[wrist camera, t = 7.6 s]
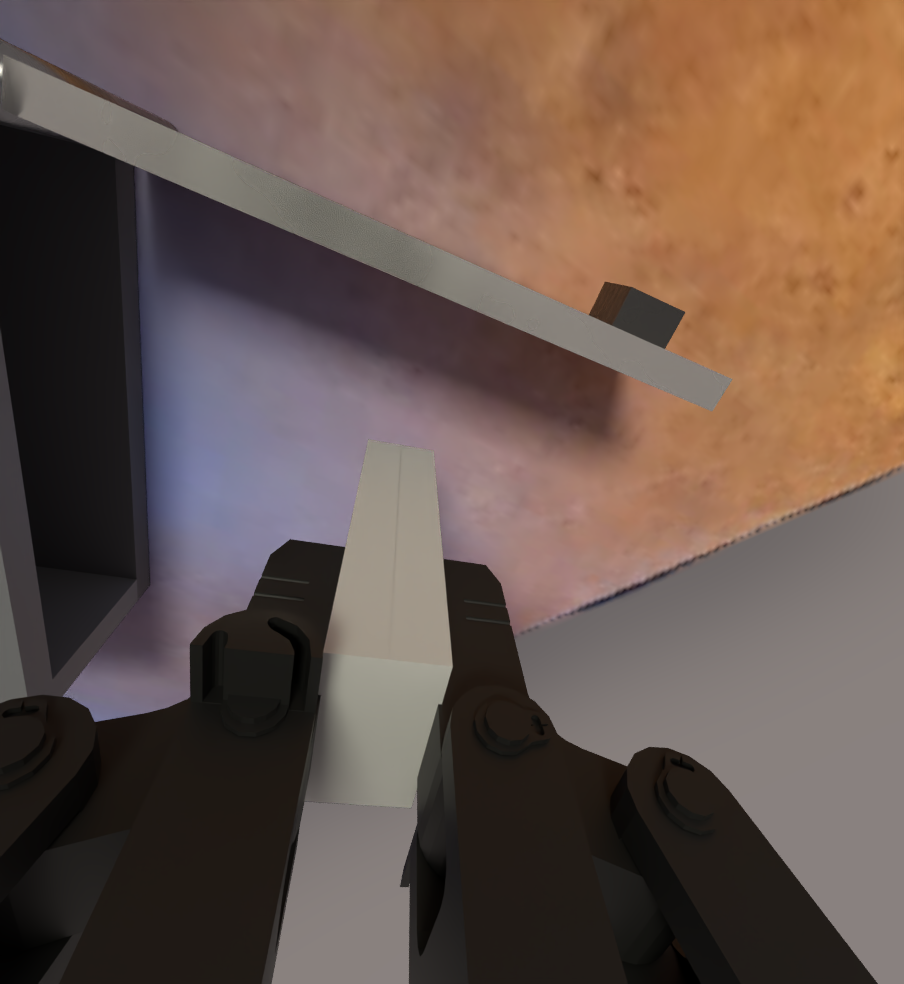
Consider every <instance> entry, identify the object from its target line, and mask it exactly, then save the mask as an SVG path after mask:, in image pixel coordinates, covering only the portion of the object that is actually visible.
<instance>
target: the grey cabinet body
mask: <svg viewBox="0 0 904 984" xmlns="http://www.w3.org/2000/svg"><path fill="white" fill-rule="evenodd" d="M149 586H150V577H149V551H148V526H147V500H146V474H145V449H144V423H143V398H142V372H141V347H140V321H139V296H138V270H137V244H136V219H135V193H134V168H133V165H131V164H129V163H126V162H124V161H122V160H119V159H117V158H115V157H112V156H110V155H108V154H105V153H103V152H101V151H98V150H96V149H93V148H90V147H87V146H83V145H80V144H77V143H73V142H70V141H66V140H63V139H60V138H56V137H53V136H49V135H46V134H43V133H39V132H36V131H33V130H29V129H26V128H22V127H19V126H16V125H12V124H9V123H5V122H2V121H0V703H2V702H5V701H7V700H10V699H16V698H23V697H30V696H36V695H51V696H59V697H62V696H63V695H64V694H65V692H66V691H67V690H68V688H69V687H70V686H71V685H72V683H73V682H74V681H75V680H76V678H77V677H78V676H79V675H80V673H81V672H82V671H83V669H84V668H85V667H86V666H87V664H88V663H89V662H90V661H91V659H92V658H93V657H94V655H95V654H96V653H97V652H98V650H99V649H100V648H101V647H102V645H103V644H104V643H105V641H106V640H107V639H108V638H109V636H110V635H111V634H112V633H113V631H114V630H115V629H116V628H117V626H118V625H119V624H120V622H121V621H122V620H123V619H124V617H125V616H126V615H127V614H128V612H129V611H130V610H131V608H132V607H133V606H134V605H135V603H136V602H137V601H138V600H139V598H140V597H141V596H142V595H143V593H144V592H145V591H146V589H147V588H148V587H149Z"/></svg>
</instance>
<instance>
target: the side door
mask: <svg viewBox="0 0 904 984" xmlns="http://www.w3.org/2000/svg"><path fill="white" fill-rule="evenodd" d="M0 121H2V122H5V123H9V124H12V125H16V126H19V127H22V128H26V129H29V130H33V131H36V132H39V133H43V134H46V135H49V136H53V137H56V138H60V139H63V140H66V141H70V142H73V143H77V144H80V145H83V146H87V147H90V148H93V149H96V150H98V151H101V152H103V153H105V154H108V155H110V156H112V157H115V158H117V159H119V160H122V161H124V162H126V163H129V164H131V165H134V166H136V167H138V168H141V169H143V170H145V171H148V172H150V173H152V174H155V175H157V176H159V177H162V178H164V179H166V180H169V181H171V182H174V183H176V184H178V185H181V186H183V187H185V188H188V189H190V190H192V191H195V192H197V193H199V194H202V195H204V196H206V197H209V198H211V199H214V200H216V201H218V202H221V203H223V204H225V205H228V206H230V207H232V208H235V209H237V210H239V211H242V212H244V213H246V214H249V215H251V216H254V217H256V218H258V219H261V220H263V221H265V222H268V223H270V224H272V225H275V226H277V227H279V228H282V229H284V230H286V231H289V232H291V233H294V234H296V235H298V236H301V237H303V238H305V239H308V240H310V241H312V242H315V243H317V244H319V245H322V246H324V247H326V248H329V249H331V250H334V251H336V252H338V253H341V254H343V255H345V256H348V257H350V258H352V259H355V260H357V261H359V262H362V263H364V264H366V265H369V266H371V267H374V268H376V269H378V270H381V271H383V272H385V273H388V274H390V275H392V276H395V277H397V278H399V279H402V280H404V281H406V282H409V283H411V284H414V285H416V286H418V287H421V288H423V289H425V290H428V291H430V292H432V293H435V294H437V295H439V296H442V297H444V298H446V299H449V300H451V301H454V302H456V303H458V304H461V305H463V306H465V307H468V308H470V309H472V310H475V311H477V312H479V313H482V314H484V315H486V316H489V317H491V318H494V319H496V320H498V321H501V322H503V323H505V324H508V325H510V326H512V327H515V328H517V329H519V330H522V331H524V332H527V333H529V334H531V335H534V336H536V337H538V338H541V339H543V340H545V341H548V342H550V343H552V344H555V345H557V346H559V347H562V348H564V349H567V350H569V351H571V352H574V353H576V354H578V355H581V356H583V357H585V358H588V359H590V360H592V361H595V362H597V363H599V364H602V365H604V366H607V367H609V368H611V369H614V370H616V371H618V372H621V373H623V374H625V375H628V376H630V377H632V378H635V379H637V380H639V381H642V382H644V383H647V384H649V385H651V386H654V387H656V388H658V389H661V390H663V391H665V392H668V393H670V394H672V395H675V396H677V397H679V398H682V399H684V400H687V401H689V402H691V403H694V404H696V405H698V406H701V407H703V408H705V409H708V410H710V411H713V409H714V408H715V406H716V405H717V403H718V401H719V400H720V398H721V397H722V395H723V394H724V392H725V390H726V389H727V387H728V386H729V384H730V382H731V381H732V379H731V378H728V377H726V376H724V375H722V374H719V373H717V372H715V371H713V370H710V369H708V368H706V367H704V366H701V365H699V364H697V363H695V362H692V361H690V360H688V359H686V358H683V357H681V356H679V355H677V354H674V353H672V352H670V351H668V350H666V349H665V348H666V346H667V344H668V342H669V341H670V339H671V337H672V335H673V333H674V332H675V330H676V328H677V326H678V325H679V323H680V321H681V319H682V317H683V316H684V314H685V312H684V311H682V310H680V309H677V308H675V307H673V306H671V305H669V304H667V303H665V302H662V301H660V300H658V299H656V298H654V297H652V296H650V295H647V294H645V293H643V292H641V291H639V290H637V289H635V288H633V287H629V286H624V285H619V284H614V283H609V282H605V283H604V285H603V287H602V289H601V291H600V293H599V295H598V297H597V300H596V302H595V304H594V306H593V308H592V310H591V312H590V314H589V315H587V314H585V313H582V312H580V311H578V310H576V309H573V308H571V307H569V306H567V305H565V304H562V303H560V302H558V301H556V300H553V299H551V298H549V297H547V296H544V295H542V294H540V293H538V292H535V291H533V290H531V289H529V288H526V287H524V286H522V285H520V284H517V283H515V282H513V281H511V280H508V279H506V278H504V277H502V276H499V275H497V274H495V273H493V272H490V271H488V270H486V269H484V268H481V267H479V266H477V265H475V264H473V263H470V262H468V261H466V260H464V259H461V258H459V257H457V256H455V255H452V254H450V253H448V252H446V251H443V250H441V249H439V248H437V247H434V246H432V245H430V244H428V243H425V242H423V241H421V240H419V239H416V238H414V237H412V236H410V235H407V234H405V233H403V232H401V231H398V230H396V229H394V228H392V227H389V226H387V225H385V224H383V223H381V222H378V221H376V220H374V219H372V218H369V217H367V216H365V215H363V214H360V213H358V212H356V211H354V210H351V209H349V208H347V207H345V206H342V205H340V204H338V203H336V202H333V201H331V200H329V199H327V198H324V197H322V196H320V195H318V194H315V193H313V192H311V191H309V190H306V189H304V188H302V187H300V186H297V185H295V184H293V183H291V182H288V181H286V180H284V179H282V178H280V177H277V176H275V175H273V174H271V173H268V172H266V171H264V170H262V169H259V168H257V167H255V166H253V165H250V164H248V163H246V162H244V161H241V160H239V159H237V158H235V157H232V156H230V155H228V154H226V153H223V152H221V151H219V150H217V149H214V148H212V147H210V146H208V145H205V144H203V143H201V142H199V141H196V140H194V139H192V138H190V137H188V136H185V135H183V134H181V133H179V132H178V130H177V129H176V128H175V127H174V126H173V125H172V124H171V123H169V122H168V121H166V120H164V119H162V118H160V117H158V116H156V115H154V114H152V113H150V112H148V111H146V110H144V109H142V108H140V107H138V106H136V105H134V104H132V103H130V102H128V101H126V100H124V99H122V98H119V97H117V96H115V95H113V94H111V93H109V92H107V91H105V90H103V89H101V88H99V87H97V86H95V85H93V84H91V83H89V82H87V81H85V80H83V79H81V78H79V77H77V76H75V75H73V74H71V73H69V72H67V71H65V70H63V69H61V68H58V67H56V66H54V65H52V64H50V63H48V62H46V61H44V60H42V59H40V58H38V57H36V56H34V55H32V54H30V53H28V52H26V51H24V50H22V49H20V48H18V47H16V46H14V45H12V44H10V43H8V42H6V41H4V40H2V39H0Z"/></svg>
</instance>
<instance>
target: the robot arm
mask: <svg viewBox="0 0 904 984" xmlns="http://www.w3.org/2000/svg"><path fill="white" fill-rule="evenodd" d="M505 606H506V603H505V599H504V595H503V591H502V586H501V583H500V582H499V581H498V580H497V578H496V577H495V576H494V575H493V573H492V572H491V571H490V570H489V568H488V567H487V566H486V565H481V564H474V563H467V562H460V561H453V560H446V559H443V551H442V540H441V529H440V518H439V507H438V495H437V484H436V473H435V462H434V451H432V450H426V449H421V448H415V447H409V446H403V445H398V444H392V443H386V442H380V441H375V440H369V439H368V444H367V449H366V453H365V458H364V463H363V467H362V472H361V477H360V481H359V486H358V491H357V496H356V500H355V505H354V510H353V514H352V519H351V524H350V528H349V533H348V538H347V543H346V547H340V546H333V545H326V544H319V543H312V542H305V541H298V540H291V539H290V540H289V541H288V542H286V543H285V544H284V545H282V546H281V547H280V548H279V549H277V550H276V551H275V552H273V553H272V554H271V555H270V557H269V560H268V562H267V564H266V566H265V569H264V571H263V573H262V577H261V579H260V580H259V582H258V585H257V587H256V589H255V592H254V596H252V598H251V601H250V603H249V605H248V608H247V610H244V611H240V612H236V613H232V614H229V615H225V616H223V617H221V618H220V619H218V620H216V621H214V622H213V623H211V624H209V625H208V626H206V627H204V628H203V629H202V631H201V632H200V633H199V634H198V635H197V636H196V638H195V639H194V640H193V641H192V642H191V643H190V698H188V699H187V700H184V701H182V702H180V703H177V704H175V705H173V706H171V707H168V708H165V709H161V710H157V711H153V712H149V713H145V714H139V715H133V716H128V717H122V718H116V719H110V720H104V721H99V722H94V720H93V717H92V715H91V713H90V711H89V709H88V708H86V707H85V706H83V705H81V704H79V703H78V702H76V701H74V700H72V699H71V698H67V697H59V696H51V695H36V696H30V697H23V698H16V699H10V700H7V701H5V702H2V703H0V984H271V983H272V978H273V972H274V967H275V961H276V956H277V950H278V946H279V940H280V935H281V929H282V924H283V919H284V913H285V907H286V902H287V897H288V891H289V886H290V881H291V876H292V870H293V865H294V859H295V854H296V848H297V841H298V834H299V827H300V821H301V816H302V811H303V806H304V802H319V803H334V804H335V803H336V804H350V805H365V806H381V807H396V808H412V804H413V802H414V798H415V795H416V791H417V803H418V804H417V815H418V817H417V818H418V819H417V822H418V823H417V826H416V830H415V833H414V836H413V840H412V843H411V846H410V850H409V853H408V856H407V859H406V863H405V866H404V870H403V875H402V880H401V885H400V887H409V883H410V927H409V984H878V983H877V982H876V981H875V980H874V978H873V977H872V976H871V974H870V973H869V972H868V970H867V969H866V968H865V967H864V965H863V964H862V963H861V961H860V960H859V959H858V958H857V956H856V955H855V954H854V952H853V951H852V950H851V948H850V947H849V946H848V944H847V943H846V942H845V941H844V939H843V938H842V937H841V935H840V934H839V933H838V932H837V930H836V929H835V928H834V926H833V925H832V924H831V922H830V921H829V920H828V918H827V917H826V916H825V915H824V913H823V912H822V911H821V909H820V908H819V907H818V906H817V904H816V903H815V902H814V900H813V899H812V898H811V896H810V895H809V894H808V892H807V891H806V890H805V889H804V887H803V886H802V885H801V883H800V882H799V881H798V879H797V878H796V877H795V876H794V874H793V873H792V872H791V870H790V869H789V868H788V866H787V865H786V864H785V863H784V861H783V860H782V859H781V857H780V856H779V855H778V854H777V852H776V851H775V850H774V848H773V847H772V846H771V844H770V843H769V842H768V840H767V839H766V838H765V837H764V835H763V834H762V833H761V831H760V830H759V829H758V827H757V826H756V825H755V824H754V822H753V821H752V820H751V819H750V817H749V816H748V815H747V813H746V812H745V811H744V809H743V808H742V807H741V805H740V804H739V803H738V801H737V800H736V799H735V798H734V796H733V795H732V794H731V792H730V791H729V790H728V789H727V788H726V787H725V786H724V785H723V784H722V783H721V781H720V780H719V779H718V778H717V777H716V776H715V775H714V774H713V773H712V772H711V771H710V770H708V769H707V768H705V767H704V766H703V765H701V764H699V763H698V762H697V761H695V760H694V759H692V758H691V757H689V756H687V755H685V754H682V753H679V752H677V751H674V750H671V749H669V748H658V747H648V748H646V749H644V750H641V751H639V752H637V753H635V754H634V756H633V758H632V759H631V761H630V763H629V765H628V766H624V765H622V764H620V763H617V762H615V761H612V760H609V759H607V758H604V757H602V756H599V755H597V754H594V753H592V752H589V751H587V750H584V749H581V748H580V747H578V746H576V745H574V744H572V743H569V742H568V741H566V740H564V739H563V738H561V737H560V736H559V735H558V734H557V733H556V730H555V728H554V726H553V724H552V722H551V720H550V718H549V716H548V715H547V714H546V713H545V712H544V711H543V710H542V709H541V708H540V707H539V706H538V705H537V703H536V702H535V701H533V700H532V699H530V698H529V696H528V693H527V689H526V685H525V681H524V676H523V672H522V668H521V664H520V660H519V656H518V652H517V648H516V644H515V640H514V636H513V631H512V627H511V626H510V619H509V615H508V611H507V608H505Z"/></svg>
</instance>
